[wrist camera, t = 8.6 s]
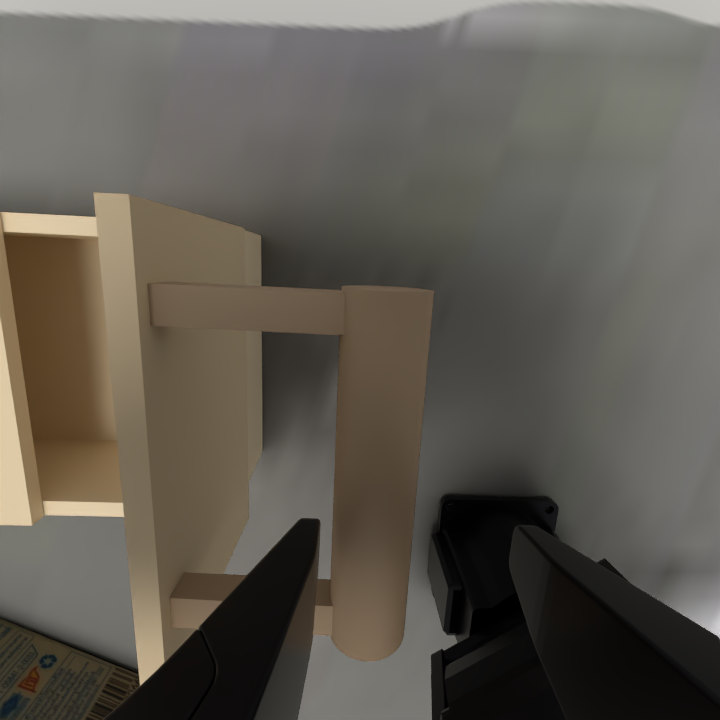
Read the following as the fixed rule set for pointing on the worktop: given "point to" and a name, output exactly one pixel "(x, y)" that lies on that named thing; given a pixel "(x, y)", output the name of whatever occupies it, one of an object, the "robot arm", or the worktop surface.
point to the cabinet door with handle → (230, 427)
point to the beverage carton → (56, 679)
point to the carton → (70, 372)
